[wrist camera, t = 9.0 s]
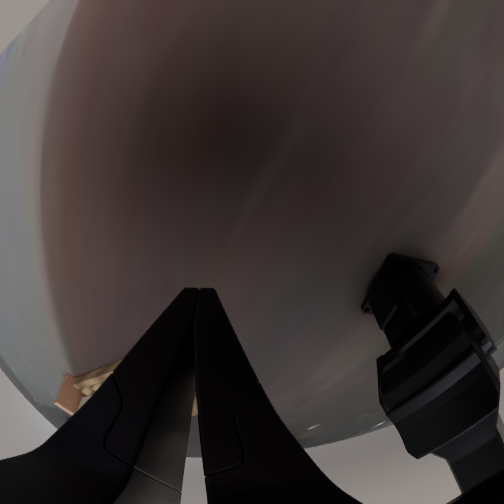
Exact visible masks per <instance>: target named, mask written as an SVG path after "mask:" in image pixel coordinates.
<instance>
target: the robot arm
mask: <svg viewBox="0 0 504 504" xmlns="http://www.w3.org/2000/svg"><path fill="white" fill-rule="evenodd" d="M392 259H393V261H391V260H392ZM438 271H439V266H438V265H437V264H435V263H431V262H427V261H422V260H418V259H414V258H409V257H405V256H400V255H396V254H390V255H389V256H388V257H387V259H386V261H385V263H384V265H383V267H382V269H381V271H380V273H379V275H378V277H377V278H376V280H375V282H374V284H373V286H372V288H371V290H370V292H369V293H368V295H367V297H366V299H365V301H364V303H363V305H362V307H361V310H362V312H363V313H365V314H374V316H375V318H376V320H377V323H378V325H379V327H380V329H381V330H384V333H385V335H386V337H387V340H388V342H389V344H390V347H391V349H390V350H389V351H388V352H386V353H385V354H384V355H381V356H380V357H379V358H377V359H376V361H377V374H378V390H379V402H380V405H381V406H382V408H383V410H384V411H385V413H386V416H387V417H388V418H389V419H390V420H391V422H392V423H393V424H394V425H395V427H396V428H397V430H398V432H399V434H400V436H401V438H402V440H403V443H404V445H405V448H406V450H407V452H408V453H409V454H411V455H412V456H413V457H415V458H416V459H420V458H422V457H423V456H426V455H427V454H429V453H431V454H433V455H435V456H438V457H440V458H443V459H445V460H446V461H447V463H448V465H449V467H450V469H451V471H452V473H453V475H454V477H455V479H456V482H457V484H458V486H459V488H460V491H461V493H462V494H461V495H460V496H458V497H456V498H455V499H453V500H452V501H450V502H448V503H447V504H504V424H503V422H502V420H501V417H500V415H499V413H498V410H499V399H500V373H499V368H498V366H497V364H496V363H495V361H494V359H493V357H492V355H493V354H494V353H495V352H496V351H497V348H496V346H495V344H494V342H493V340H492V338H491V336H490V334H489V332H488V331H487V329H486V327H485V325H484V324H483V322H482V321H481V319H480V318H479V316H478V315H477V314H476V312H475V311H474V310H473V308H472V307H471V306H470V305H469V303H468V302H467V301H466V300H465V299H464V298H463V297H462V296H461V295H460V293H459V292H458V291H457V290H456V289H455V288H454V289H453V290H452V291H451V292H450V294H449V295H448V297H447V298H446V299H445V297H444V296H443V295H442V293H441V292H440V290H439V289H438V288H437V286H436V285H435V284H434V282H433V280H434V278H435V277H436V275H437V273H438ZM195 390H196V397H197V411H198V423H199V433H200V443H201V453H202V461H203V469H204V475H205V485H206V493H207V502H208V504H363V503H361V502H359V501H358V500H356V499H355V498H353V497H351V496H350V495H348V494H347V493H345V492H344V491H342V490H341V489H340V488H339V487H337V486H336V485H335V484H334V483H333V482H332V481H331V480H330V479H329V478H328V477H327V476H326V475H325V474H324V473H323V472H322V471H321V470H320V469H319V467H318V466H317V465H316V464H315V463H314V461H313V460H312V459H311V458H310V456H309V455H308V454H307V453H306V452H305V450H304V449H303V448H302V447H301V445H300V444H299V443H298V442H297V440H296V439H295V438H294V436H293V435H292V434H291V433H290V431H289V430H288V428H287V427H286V426H285V424H284V423H283V421H282V420H281V418H280V417H279V416H278V414H277V413H276V411H275V409H274V407H273V406H272V404H271V402H270V400H269V399H268V397H267V395H266V393H265V391H264V389H263V388H262V386H261V384H260V383H259V380H258V378H257V376H256V374H255V372H254V370H253V368H252V366H251V364H250V362H249V360H248V358H247V356H246V354H245V352H244V350H243V348H242V346H241V344H240V342H239V340H238V338H237V335H236V333H235V331H234V329H233V327H232V325H231V323H230V321H229V319H228V316H227V314H226V312H225V310H224V308H223V306H222V303H221V301H220V299H219V297H218V295H217V292H216V290H215V289H214V288H201V289H200V290H199V289H198V288H184V289H183V290H182V291H181V292H180V293H179V294H178V296H177V297H176V298H175V299H174V300H173V301H172V302H171V303H170V305H169V306H168V307H167V308H166V309H165V310H164V312H163V313H162V314H161V315H160V316H159V317H158V318H157V320H156V321H155V322H154V323H153V324H152V325H151V326H150V328H149V329H148V330H147V331H146V332H145V333H144V335H143V336H142V337H141V338H140V339H139V340H138V342H137V343H136V344H135V345H134V346H133V348H132V349H131V350H130V351H129V352H128V353H127V355H126V356H125V357H124V358H123V359H122V361H121V362H120V363H119V364H118V365H117V367H116V368H115V369H114V370H113V373H111V374H110V375H109V376H108V377H107V378H106V380H105V381H104V382H103V383H102V384H101V386H100V387H99V388H98V389H97V390H96V391H95V392H94V394H93V395H92V396H91V397H90V398H89V399H88V400H87V401H86V402H85V403H84V404H83V405H82V406H81V407H80V408H79V409H78V411H77V412H76V413H74V414H73V415H72V416H71V417H70V418H69V419H68V420H67V421H66V422H65V423H64V424H63V425H62V426H61V427H60V428H59V429H58V430H57V431H56V432H55V433H54V434H53V435H52V436H51V437H50V438H49V439H48V440H47V441H46V442H45V443H43V444H42V445H41V446H39V447H38V448H36V449H34V450H33V451H30V452H28V453H25V454H22V455H18V456H15V457H11V458H7V459H3V460H0V504H180V501H181V492H180V491H182V484H183V475H184V467H185V459H186V452H187V444H188V437H189V430H190V423H191V416H192V410H193V403H194V397H195Z"/></svg>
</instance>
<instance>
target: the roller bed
mask: <svg viewBox="0 0 504 504" xmlns="http://www.w3.org/2000/svg"><path fill="white" fill-rule="evenodd" d="M121 361H122V360H119V361H117V362H114V363H112V364H109V365H107V366H104V367H102V368H99V369H97V370H94V371H92V372H89V373H87V374H84V375H81V376H79V377H76V378H75V380H74V382H73V386H74V387H75V388H77V389H81V388H82V389H81V392H82V393H84V394H85V395H86V396H91V395H93V394H94V392H95V391H96V390H97V389H98V388H99V387H100V386H101V384H102V383H103V382H104V381H105V380H106V378H107V377H108V376H109V375H110V374H111V373H113V370H114V369H115V368H116V367H117V365H118V364H119V363H120V362H121ZM194 415H198V411H197V397H196V392H195V397H194V403H193V410H192V416H194Z"/></svg>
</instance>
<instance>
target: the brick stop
mask: <svg viewBox="0 0 504 504" xmlns="http://www.w3.org/2000/svg"><path fill="white" fill-rule="evenodd" d="M74 380H75V378H74V377H73V376H72V375H70V374H68V375H65V377H64V379H63V382H62V384H61V386H60V389H59V391H58V393H57V396H56V398H55V401H54V404H56V405H57V406H58V407H60V408H61V409H63V410H64V411H66V412H67V413H69V414H71V415H73V414H74V413H76V412H77V410H78V407H79V405H80V402H81V399H82V397H86V395H85V394H84V393H82V392H81V389H82V388H81V389H77V388H75V387H74V386H73V382H74Z"/></svg>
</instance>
